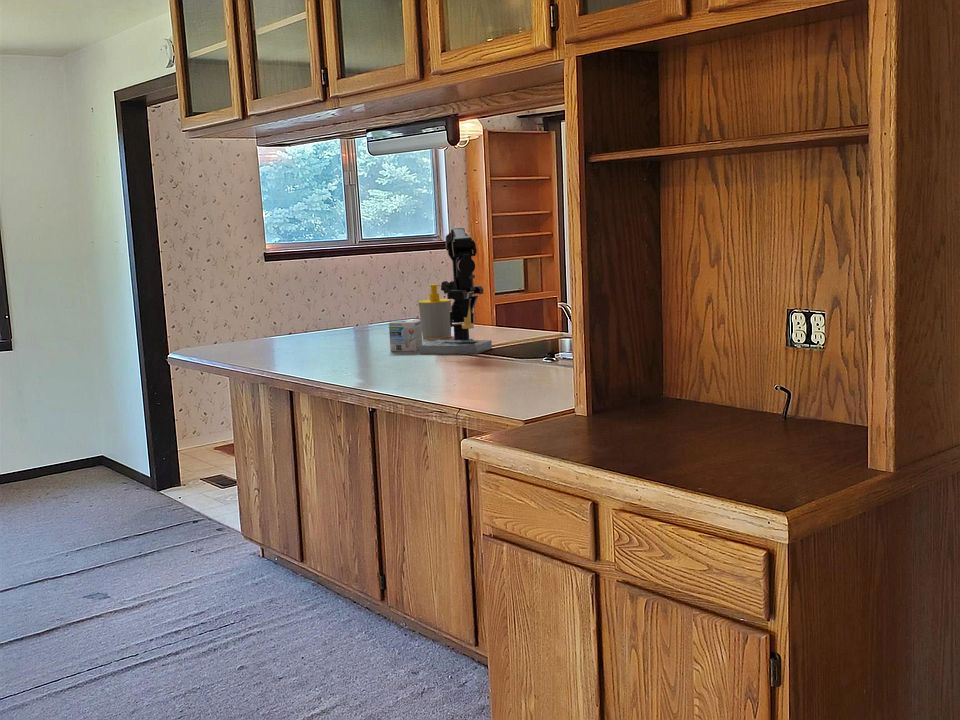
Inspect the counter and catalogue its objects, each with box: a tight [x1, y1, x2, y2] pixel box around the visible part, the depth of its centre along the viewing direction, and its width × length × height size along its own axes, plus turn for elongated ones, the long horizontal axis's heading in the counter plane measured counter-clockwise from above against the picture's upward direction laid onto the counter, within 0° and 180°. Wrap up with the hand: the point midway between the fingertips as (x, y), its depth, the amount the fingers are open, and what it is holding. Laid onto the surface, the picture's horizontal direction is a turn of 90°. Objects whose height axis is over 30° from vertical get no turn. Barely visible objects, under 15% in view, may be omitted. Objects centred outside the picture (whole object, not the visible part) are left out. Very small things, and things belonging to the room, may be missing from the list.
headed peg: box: [462, 307, 475, 330], centre depth 336 cm, size 4×4×9 cm
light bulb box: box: [388, 319, 424, 352], centre depth 349 cm, size 11×7×11 cm, turn 73°
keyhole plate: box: [419, 339, 493, 355], centre depth 340 cm, size 14×22×3 cm, turn 67°
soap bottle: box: [418, 283, 452, 340], centre depth 381 cm, size 13×13×21 cm
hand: (467, 316), depth 336 cm, fingers closed on headed peg, 2 cm apart
